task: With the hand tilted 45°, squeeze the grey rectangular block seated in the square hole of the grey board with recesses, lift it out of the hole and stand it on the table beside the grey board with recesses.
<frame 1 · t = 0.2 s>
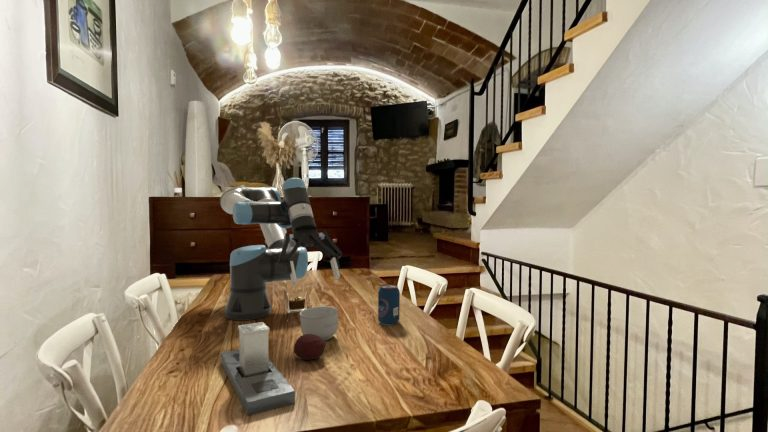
hand: (316, 280, 122), 16 cm above the table, tool tilted 35°, fingers open, 13 cm apart
soda can: (388, 323, 132), on the table
grey board with recesses: (253, 380, 90), on the table
grey rectangular block: (253, 381, 90), resting in grey board with recesses
teacup: (320, 336, 119), on the table
potato: (308, 359, 102), on the table
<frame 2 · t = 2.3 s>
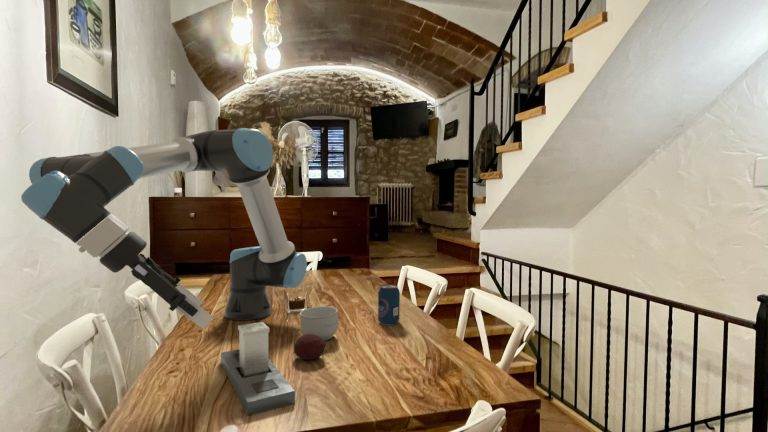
hand: (203, 314, 84), 16 cm above the table, tool tilted 45°, fingers open, 13 cm apart
nothing on the table moved.
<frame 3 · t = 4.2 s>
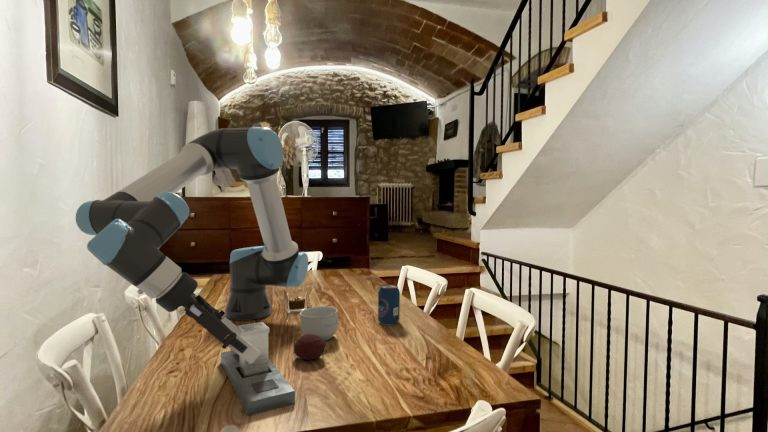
hand: (248, 347, 88), 8 cm above the table, tool tilted 45°, fingers open, 13 cm apart
nothing on the table moved.
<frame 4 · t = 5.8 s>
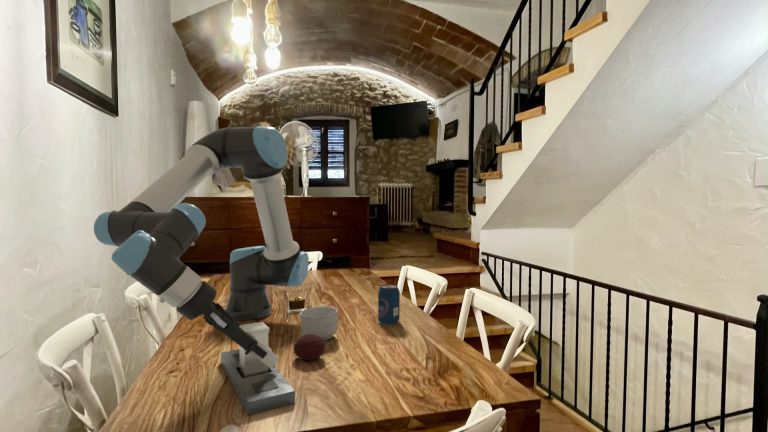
hand: (270, 358, 91), 4 cm above the table, tool tilted 45°, fingers closed on grey rectangular block, 5 cm apart
grey rectangular block: (253, 380, 90), resting in grey board with recesses, touching gripper
everything else where it was.
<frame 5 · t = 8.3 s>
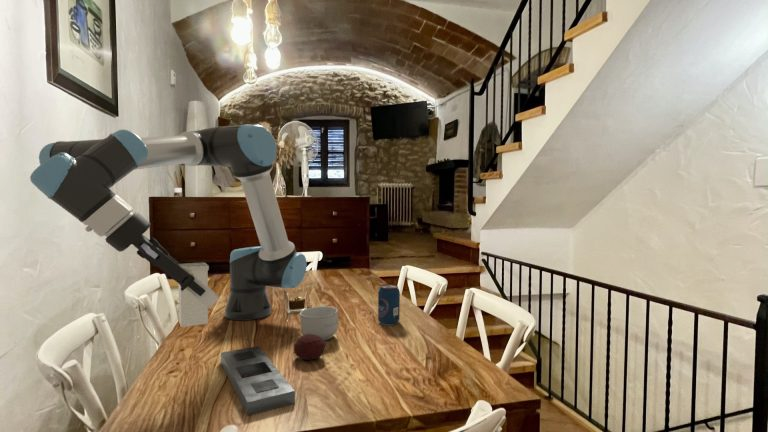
hand: (212, 299, 87), 18 cm above the table, tool tilted 45°, fingers closed on grey rectangular block, 5 cm apart
grey rectangular block: (193, 322, 85), point 14 cm above the table, touching gripper
everything else where it was.
when the fingers open (5 cm above the table, at t = 11.0 s): grey rectangular block stays where it is, on the table.
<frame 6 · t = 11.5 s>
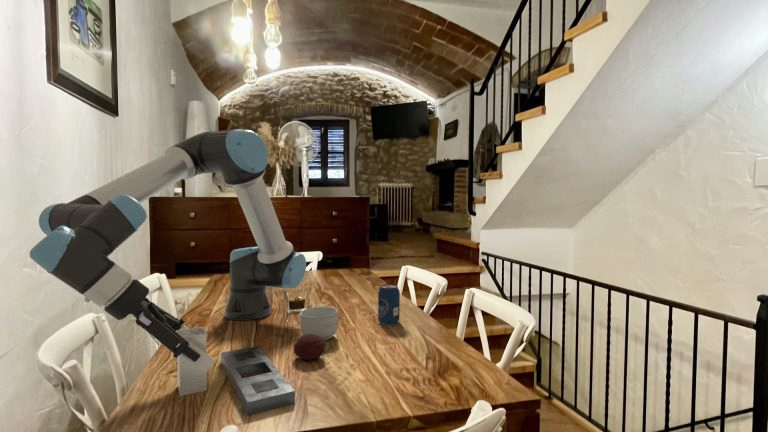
hand: (205, 356, 87), 6 cm above the table, tool tilted 45°, fingers open, 11 cm apart
grey rectangular block: (191, 388, 86), on the table
everything else where it was.
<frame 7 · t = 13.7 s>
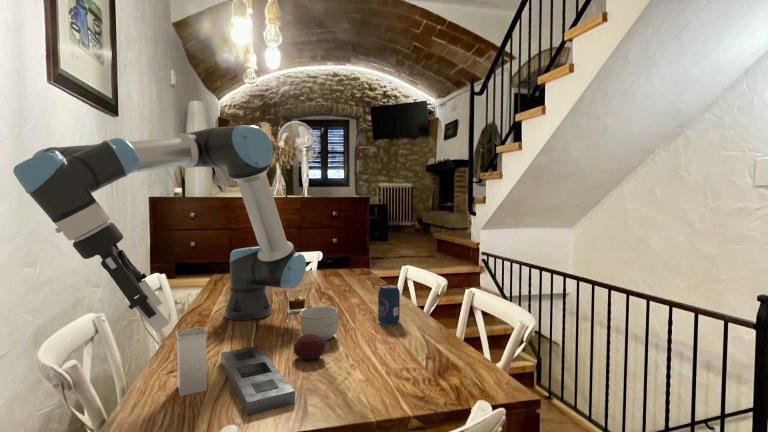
hand: (159, 316, 84), 16 cm above the table, tool tilted 30°, fingers open, 13 cm apart
nothing on the table moved.
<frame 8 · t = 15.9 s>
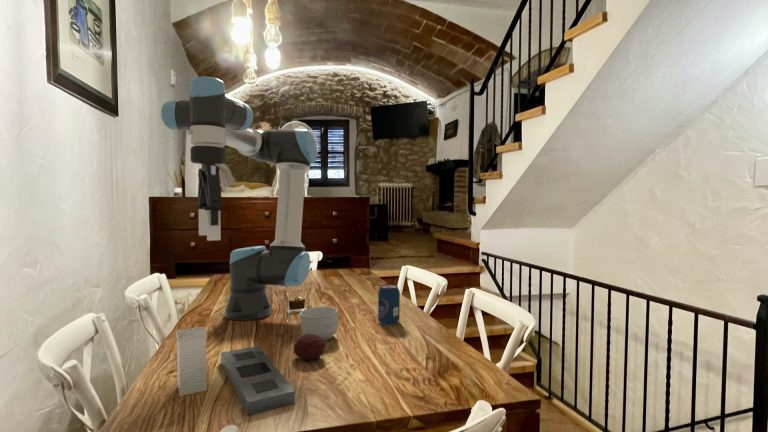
hand: (209, 237, 96), 31 cm above the table, tool pointing down, fingers open, 13 cm apart
nothing on the table moved.
at the end: grey rectangular block inside the target area (0.9 cm from its centre), on the table; the gripper is holding nothing; grey rectangular block touching table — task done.
